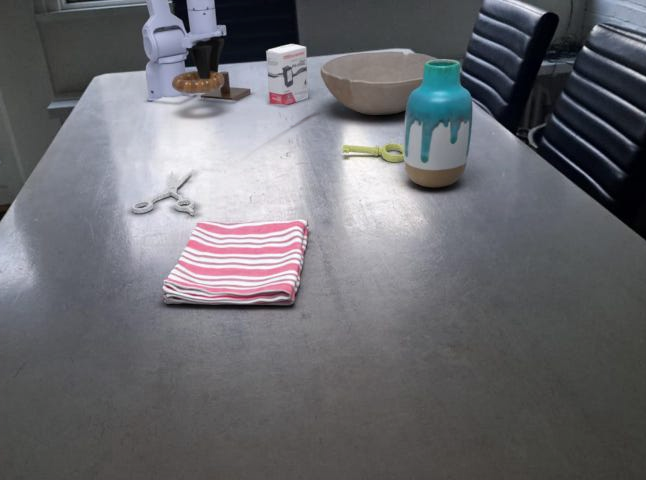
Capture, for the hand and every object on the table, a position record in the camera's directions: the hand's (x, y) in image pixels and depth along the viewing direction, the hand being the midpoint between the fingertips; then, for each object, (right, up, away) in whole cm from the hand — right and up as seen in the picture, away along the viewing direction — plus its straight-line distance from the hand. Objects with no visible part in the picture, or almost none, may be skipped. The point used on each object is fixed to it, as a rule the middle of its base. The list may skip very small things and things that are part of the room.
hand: (208, 76), depth 152 cm
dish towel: (+11, -50, -57) cm, 77 cm away
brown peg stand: (+2, +2, +17) cm, 18 cm away
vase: (+42, -33, -36) cm, 65 cm away
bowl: (+38, -8, 0) cm, 39 cm away
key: (+34, -25, -24) cm, 48 cm away
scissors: (-2, -34, -34) cm, 48 cm away
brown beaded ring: (-2, -2, -3) cm, 4 cm away
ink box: (+18, -1, +11) cm, 21 cm away
